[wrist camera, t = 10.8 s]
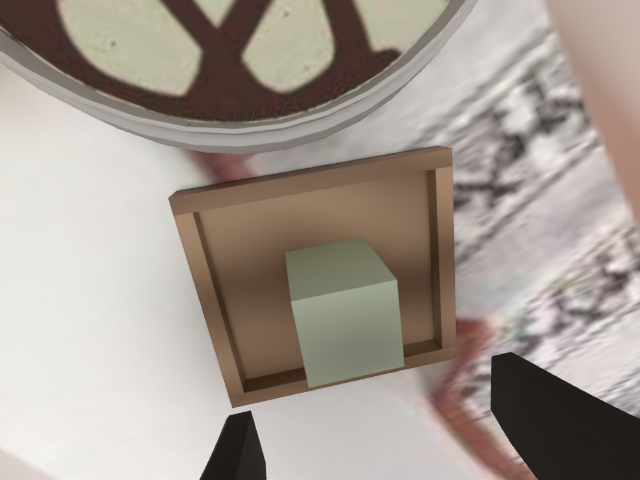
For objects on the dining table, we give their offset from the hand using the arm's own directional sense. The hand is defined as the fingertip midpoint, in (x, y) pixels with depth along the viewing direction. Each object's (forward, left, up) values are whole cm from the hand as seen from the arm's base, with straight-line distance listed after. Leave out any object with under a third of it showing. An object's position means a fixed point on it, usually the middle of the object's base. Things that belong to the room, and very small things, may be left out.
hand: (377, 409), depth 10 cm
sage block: (0, 0, -9) cm, 9 cm away
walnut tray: (0, 0, -9) cm, 9 cm away
